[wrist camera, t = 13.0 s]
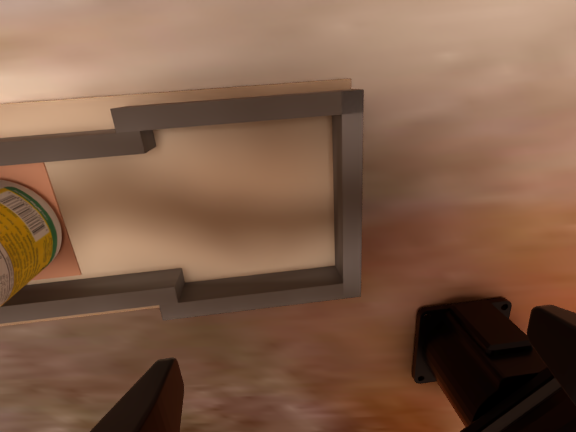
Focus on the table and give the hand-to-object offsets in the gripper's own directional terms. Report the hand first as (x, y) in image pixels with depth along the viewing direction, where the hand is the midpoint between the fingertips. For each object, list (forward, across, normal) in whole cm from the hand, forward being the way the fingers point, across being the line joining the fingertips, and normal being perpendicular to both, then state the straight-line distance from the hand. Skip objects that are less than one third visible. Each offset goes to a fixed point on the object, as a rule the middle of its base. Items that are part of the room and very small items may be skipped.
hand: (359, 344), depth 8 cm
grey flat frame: (+12, +8, 0) cm, 14 cm away
